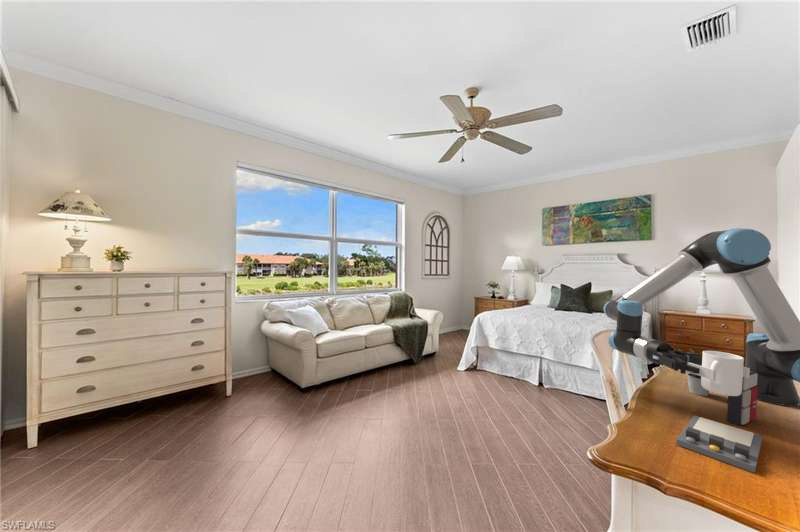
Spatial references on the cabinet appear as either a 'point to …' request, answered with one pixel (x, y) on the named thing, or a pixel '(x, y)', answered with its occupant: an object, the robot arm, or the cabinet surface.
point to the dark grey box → (744, 402)
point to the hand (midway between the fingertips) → (731, 374)
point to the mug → (723, 373)
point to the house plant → (696, 383)
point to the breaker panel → (726, 450)
